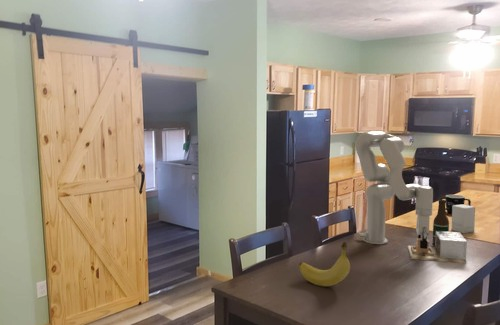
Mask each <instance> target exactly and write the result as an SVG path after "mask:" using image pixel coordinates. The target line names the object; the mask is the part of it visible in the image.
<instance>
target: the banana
mask: <svg viewBox="0 0 500 325" xmlns="http://www.w3.org/2000/svg"><path fill="white" fill-rule="evenodd" d="M348 245H349V244H348V242H347V241H343V242H342V244H341V245H340V248H341V253H340V256H339V257H338V258H337V259H336V261H335V263H334V264H333V265H332V266H331V268H329V269H325V270H324V269H319V268H317V267H314V266H312V265H311V264H308V263H306V262H300V263H299V265H298V266H299V272H300V274H301V276H302V277H303V278H304V279H305V280H307V281H308V283H309V282H310V283H311V284H313V285H316V286H319V287H331V286H335V285H337V284H339V283H340V282H342V281H343V280H345V279H346V277H347V276H348V275H349V273H350V271H351V264H350V261H349V260H350V259H348V257H347V254H346V250H347V248H348Z"/></svg>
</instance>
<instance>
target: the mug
mask: <svg viewBox="0 0 500 325" xmlns="http://www.w3.org/2000/svg"><path fill="white" fill-rule="evenodd" d="M441 199H442V200H446V203H445V211H446V212H447V213H448V212H450V213H449V214H451V213H452V206H453V205H461V204H463V205H465V201H467V205H468V206H472V205H471V203H472V202H471V199H469V198H465V196H463V195H461V194H446V195H445V197H440V198H439V200H441Z"/></svg>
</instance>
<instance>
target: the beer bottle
mask: <svg viewBox="0 0 500 325" xmlns="http://www.w3.org/2000/svg"><path fill="white" fill-rule="evenodd" d="M437 202H438V206H437V214H436V216H435V217H434V219H433V223H432V224H433V225H432V245H435V242H436V231H446V232H450V230H449V229H450V221H449V217H448V216H447V214H446V212H447V210H445V208H446V200H445V199H441V200H440V199H439V200H438V201H437Z"/></svg>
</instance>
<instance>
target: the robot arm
mask: <svg viewBox="0 0 500 325" xmlns="http://www.w3.org/2000/svg"><path fill="white" fill-rule="evenodd" d="M354 145H355V146H354V147H355V151H356V154H357V156H358V160H359V163H360V167H361V171H362V174H363V177H364V180H365V181H366V182H369V183H373V182H376V183H373V184H370V185H369V186H368V187H367V188H366V190H365V199H366V230H365V232H357V235H358V237H360V238H363V242H365V243H367V244H371V245H385V244H387V243H388V242H389V241H388V239H387V238H386V236H385V235H386V206H385V203H384V201H386V200H391V199H393V197H394V196H396V197H397V199H398V200H401V201H409V200H414V199H415V215H416V225H415V227H416V228H415V230H416V234H417V238H420V239H421V240H420V248H423V249H427V246H428V241H429V240H427V239H428V236H429V233H430V217H431V216H433V204H434V203H433V201H434V200H433V199H434V189H433V187H432V186H427V185H420V184H417V183H409V184H406V183H405V181H404V179H403V170H404V168H405V167H406V164H407V162H406V160H405V158H404V156H403V154H402V152H403V151H404V149H405V143H404V141H403V140H402V139H401V137H397V136H395V135H392V134H389V133H387V132H384V131H379V130H378V131H377V130H376V131H365V132H362V133H360V134H359V135H358V136H357V138H356V141H355V144H354ZM371 148H379V150H380V152H381V154H382V156H383V158H384V160H385V162H386V164H387V165H386V164H384V163H378V161H377V157H376V155H375V153H374V152H373V151H372V149H371Z"/></svg>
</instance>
